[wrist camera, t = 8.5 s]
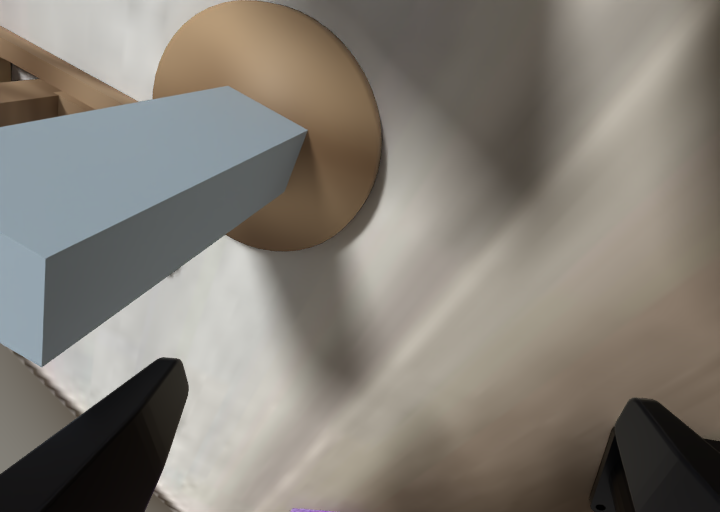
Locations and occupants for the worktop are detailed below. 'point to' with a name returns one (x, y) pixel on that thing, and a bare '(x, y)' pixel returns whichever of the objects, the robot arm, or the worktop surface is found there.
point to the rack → (48, 85)
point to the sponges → (306, 510)
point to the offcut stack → (5, 70)
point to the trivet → (287, 110)
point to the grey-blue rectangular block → (125, 204)
